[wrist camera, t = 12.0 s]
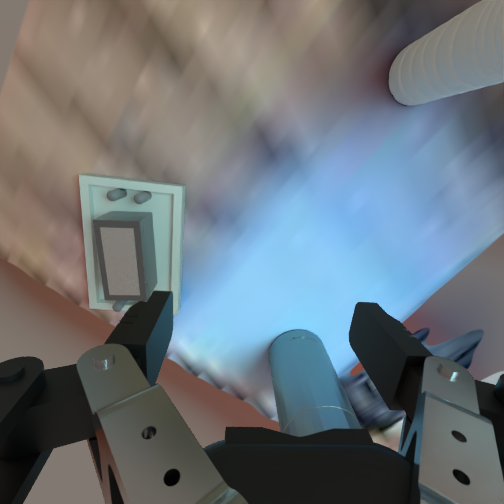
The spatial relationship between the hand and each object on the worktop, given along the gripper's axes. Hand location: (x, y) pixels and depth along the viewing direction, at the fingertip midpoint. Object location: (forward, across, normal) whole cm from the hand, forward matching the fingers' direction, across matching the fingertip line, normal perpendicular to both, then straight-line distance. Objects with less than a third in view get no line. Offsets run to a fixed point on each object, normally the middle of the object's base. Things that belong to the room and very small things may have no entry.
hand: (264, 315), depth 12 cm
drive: (+26, +14, +6) cm, 30 cm away
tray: (+27, +14, +6) cm, 31 cm away
